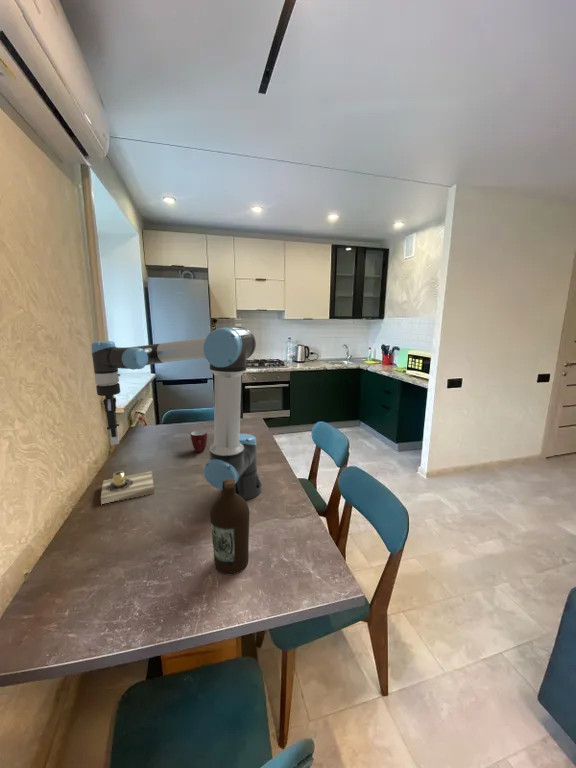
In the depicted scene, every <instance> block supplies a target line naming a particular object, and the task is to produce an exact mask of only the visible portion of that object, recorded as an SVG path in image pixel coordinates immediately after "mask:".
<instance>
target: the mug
mask: <svg viewBox="0 0 576 768" xmlns="http://www.w3.org/2000/svg"><path fill="white" fill-rule="evenodd" d="M190 438H191V439H190V441H191V444H192V447H193V450H194V451H195V452H196V453H203V452H204V451H205V449H206V448H207V442H208V431H207V430H204V429H201V430H200V429H199V430H198V429H196V430H194V431H191V433H190Z"/></svg>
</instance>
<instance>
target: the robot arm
mask: <svg viewBox="0 0 576 768" xmlns="http://www.w3.org/2000/svg"><path fill="white" fill-rule="evenodd" d="M115 343H116V342H115V341H110V340H108V341H107V340H105V341H104V340H102V341H94V342H92V343H91V346H90V347H91V356H92V364H93V371H94V375H93V376H94V380H95V384H96V387H95V388H96V394H97V395H98V397H99V396H100V397H105V398H103V401H102V402H103V405H104V411H105V412H106V420H107V427H106V430H108V432H109V441H110V446H115V445H119V444H120V438H119V429H118V427H119V426H120V424H119V423H118V421H117V413H116V410H117V397H114V396H115V395H118V394H120V393H121V387H120V386H121V385H120V383H119V382H120V378H119V377H121V374H120V373H119V369H121V370H122V369H125V370H126V369H127V370H132V371H133V370H142V369H144V368H145V367H146V366H150V365H155V364H156V365H157V364H165V363H170V362H172V363H173V362H182V361H191V360H199V359H206V360H207V361H208V363H209V371H211V372H212V373H213V376H214V390H213V391H214V394H213V395H214V408H213V411H214V413H213V415H214V416H213V418H214V420H213V421H214V422H213V423H214V424H213V425H214V426H213V429H214V430H213V431H214V432H213V433H214V434H213V443H212V444H211V445H210V446H209V459H208V461H206V463H205V465H204V467H203V477H204V478H205V481H206V482H207V483H209V484H210V485H211V486H212V487H213V488H215V489H218V490H223V489H222V486H223V480H225V479H234V481H235V493H237V494H238V495H239V496H241V497H242V498H243V499H244V500H245V501H247V500H250V499H254V498H256V497H257V496H258V495H260V494H261V493H262V480H261V478H260V476H259V472H258V455H257V454H258V453H257V452H258V451H257V449H258V447H257V445H258V443H257V438H256V437H255V436H254V435H253V434H249V433H241V431H240V430H241V402H242V401H241V400H242V399H241V398H242V397H241V395H242V375H243V374H244V373H245V372H246V371H247V360H248V359H249V358H251V356H252V355H254V353H255V351H256V346H257V342H256V338H255V336H254V334H253V332H252V331H251V330H249V329H248V328H245V327H242V326H235V327H234V326H233V327H231V326H230V327H229V326H228V327H227V326H226V327H220V328H219V327H218V328H217V329H214V330H212V331H211V332H210V333H208V334H207V336H205V337H200V338H192V339H185V340H176V341H171V342H170V341H169V342H162V343H155V344H153V343H152V344H146V345H138V346H129V347H128V346H127V347H119V346H118V347H117V346H116V344H115Z"/></svg>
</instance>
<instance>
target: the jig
mask: <svg viewBox="0 0 576 768" xmlns="http://www.w3.org/2000/svg"><path fill="white" fill-rule="evenodd" d="M125 482H126V486H125V487H123V488H119V489H114V480H113V478H110V479H104V480H103V481H102V486H101V494H100V502H101V503H100V505H102V504H104V503H109V502H114V501H118V502H120V501H119V500H123V501H125V500H124V499H127V500H130V499H129V498H132V499H135V498H134V497H136V498H139V496H141V497H144V495H145V496H150V495H154V494H155V485H154V478H153V471H147V472H146V471H145V472H140V473H135V474H131V475H125ZM153 493H154V494H153ZM149 494H150V495H149ZM114 503H115V502H114ZM109 504H110V503H109Z"/></svg>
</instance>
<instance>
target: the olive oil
mask: <svg viewBox="0 0 576 768" xmlns="http://www.w3.org/2000/svg"><path fill="white" fill-rule="evenodd" d="M221 490H222V494H221V495H220V496H219V497H218V498H217V499H216V500H215V501H214V503H213V504H212V506H211V507H210V508H211V509H210V511H209V512H210V513H209V524H210V528H211V529H210V530H211V539H212V548H213V558H214V566H215V569H216V571H217V570H218V571H217V572H219V573H220V572H221V573H220V574H222V573H223V574H222V575H226V574H232V575H235V574H234V573H236V574H238V573H237V572H239V573H240V571H241V570H242V571H244V569H245V568H246V567H247V566H248V564H249V551H250V550H249V548H250V546H249V543H250V541H249V539H250V538H249V537H250V514H251V513H250V508H249V505H248V503H247V500H244V499H243V498H242V497H241V496H239V495H238V494H237V493H235V481H234V479H225V480H223V486H222V489H221ZM242 571H241V572H242Z"/></svg>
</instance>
